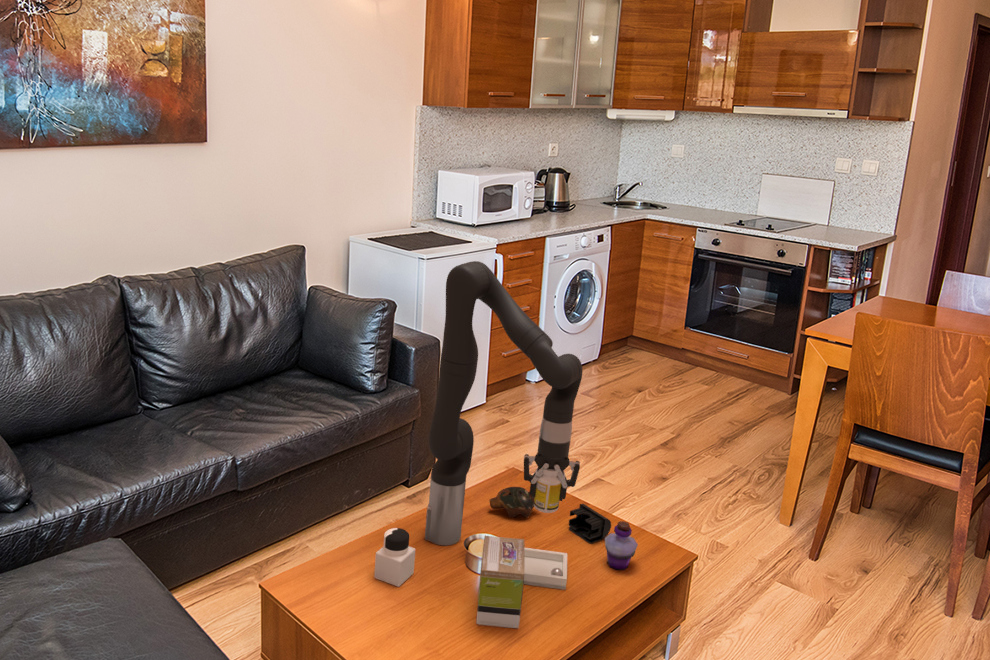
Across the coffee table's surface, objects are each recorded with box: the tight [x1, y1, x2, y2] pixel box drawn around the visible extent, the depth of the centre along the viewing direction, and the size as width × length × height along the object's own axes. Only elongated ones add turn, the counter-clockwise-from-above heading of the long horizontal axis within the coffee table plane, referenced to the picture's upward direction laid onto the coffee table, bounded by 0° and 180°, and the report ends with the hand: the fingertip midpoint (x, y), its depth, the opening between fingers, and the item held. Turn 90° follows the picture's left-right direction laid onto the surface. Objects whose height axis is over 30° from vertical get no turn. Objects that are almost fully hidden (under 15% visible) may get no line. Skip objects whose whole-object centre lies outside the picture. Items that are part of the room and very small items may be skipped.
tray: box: [524, 547, 568, 591], centre depth 212 cm, size 14×12×3 cm
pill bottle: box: [534, 469, 561, 514], centre depth 205 cm, size 6×6×11 cm
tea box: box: [475, 535, 525, 629], centre depth 194 cm, size 15×10×15 cm
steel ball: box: [551, 568, 563, 576], centre depth 208 cm, size 3×3×3 cm
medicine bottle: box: [374, 527, 416, 587], centre depth 203 cm, size 7×7×12 cm
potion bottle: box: [604, 520, 639, 571], centre depth 218 cm, size 9×9×12 cm
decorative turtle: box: [489, 486, 535, 519], centre depth 239 cm, size 10×15×8 cm, turn 102°
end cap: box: [568, 503, 612, 545], centre depth 233 cm, size 10×7×7 cm
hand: (547, 497), depth 206 cm, fingers closed on pill bottle, 6 cm apart
